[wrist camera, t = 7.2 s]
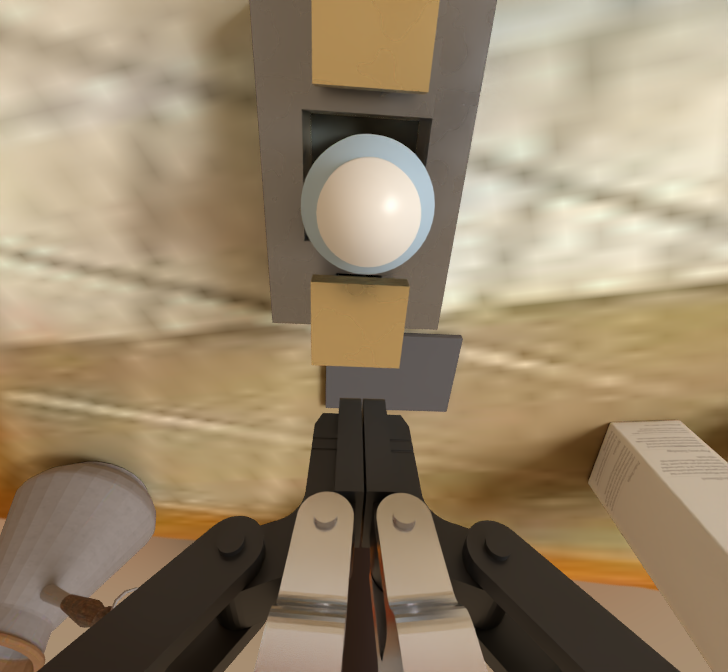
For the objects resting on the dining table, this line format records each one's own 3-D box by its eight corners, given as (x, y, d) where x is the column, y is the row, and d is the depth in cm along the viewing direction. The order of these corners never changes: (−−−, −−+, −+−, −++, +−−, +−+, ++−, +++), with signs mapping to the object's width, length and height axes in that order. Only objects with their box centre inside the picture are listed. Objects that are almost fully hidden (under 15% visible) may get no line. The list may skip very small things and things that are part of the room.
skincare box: (647, 480, 35) (828, 695, 22) (580, 482, 35) (720, 699, 22) (681, 415, 31) (930, 630, 18) (606, 418, 31) (797, 635, 18)
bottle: (317, 505, 36) (282, 848, 19) (360, 469, 34) (365, 825, 16) (369, 530, 39) (380, 858, 21) (412, 497, 36) (465, 838, 19)
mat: (326, 329, 26) (326, 332, 26) (461, 335, 27) (462, 338, 26) (326, 403, 30) (325, 407, 29) (445, 407, 30) (446, 411, 30)
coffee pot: (117, 538, 38) (-5, 747, 25) (14, 479, 34) (-203, 699, 21) (270, 458, 33) (214, 671, 20) (172, 373, 28) (14, 580, 15)
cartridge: (325, 131, 20) (293, 128, 10) (403, 136, 20) (453, 139, 10) (325, 212, 22) (298, 281, 12) (395, 216, 23) (429, 287, 12)
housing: (268, -12, 17) (246, -49, 14) (472, 5, 18) (501, -26, 14) (284, 296, 25) (272, 322, 22) (426, 302, 26) (437, 329, 22)
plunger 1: (322, -28, 16) (310, -87, 12) (424, -19, 16) (448, -73, 12) (322, 95, 18) (312, 83, 14) (411, 101, 18) (428, 92, 14)
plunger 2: (319, 251, 20) (310, 281, 16) (398, 255, 21) (409, 286, 16) (319, 322, 23) (311, 365, 18) (391, 325, 23) (399, 368, 19)
